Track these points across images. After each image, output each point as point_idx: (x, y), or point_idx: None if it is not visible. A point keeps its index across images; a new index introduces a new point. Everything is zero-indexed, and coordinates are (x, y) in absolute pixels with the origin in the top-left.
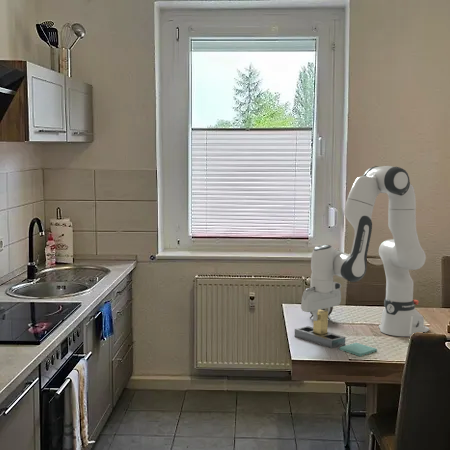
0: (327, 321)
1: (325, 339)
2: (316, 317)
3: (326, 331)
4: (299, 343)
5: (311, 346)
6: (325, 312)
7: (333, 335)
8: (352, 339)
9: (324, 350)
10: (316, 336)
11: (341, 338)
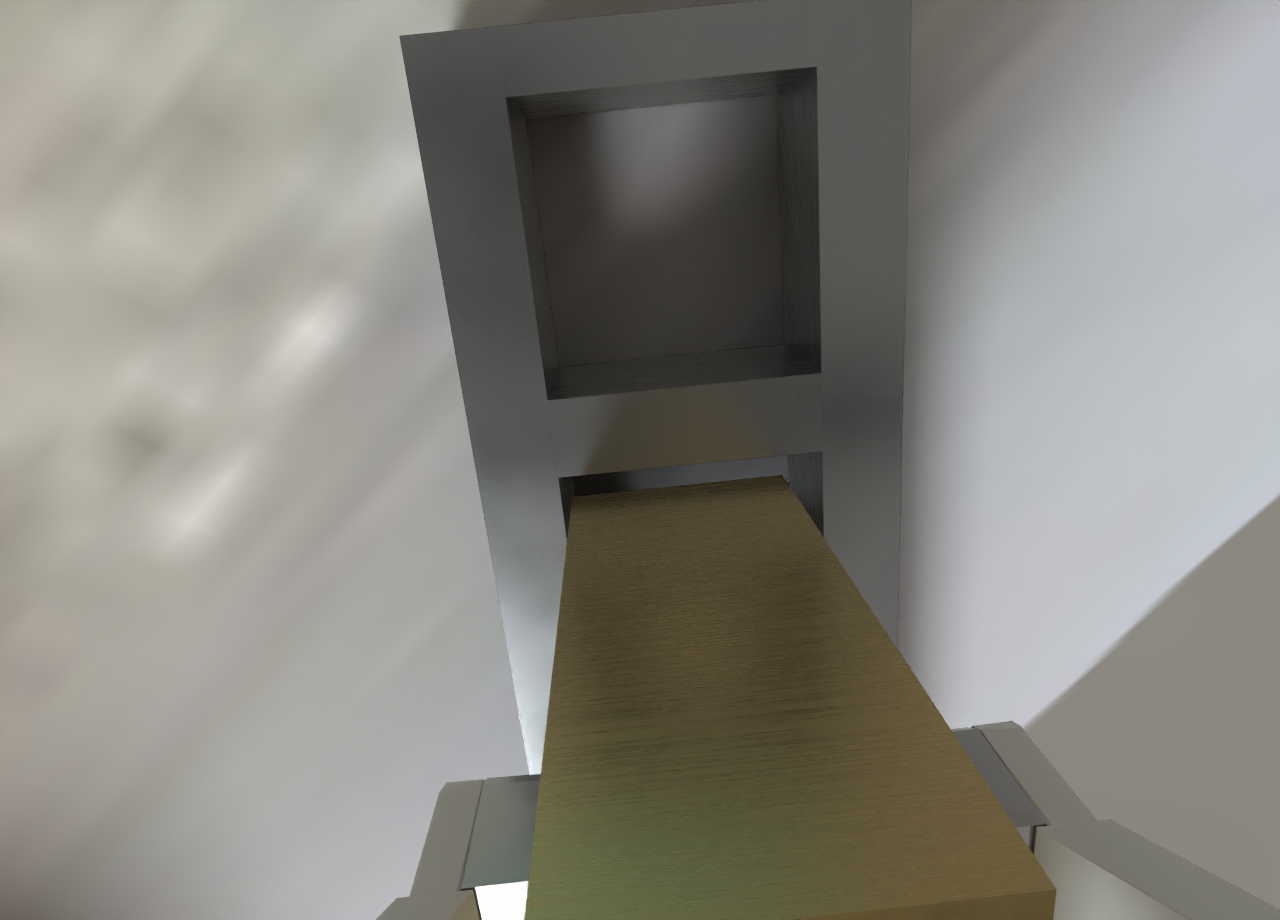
0: (564, 639)
1: (901, 211)
2: (1080, 803)
3: (600, 510)
4: (1073, 556)
5: (1056, 335)
6: (720, 899)
7: (540, 335)
8: (81, 258)
9: (1072, 6)
10: (896, 467)
11: (555, 21)
